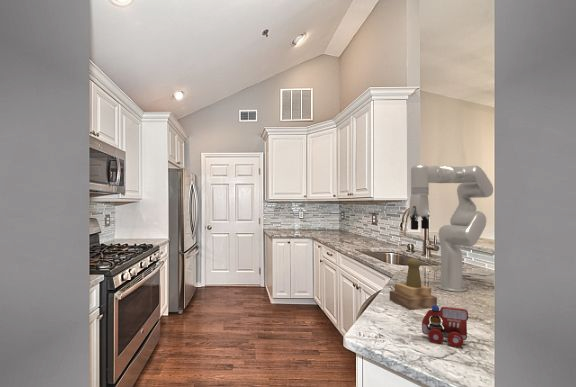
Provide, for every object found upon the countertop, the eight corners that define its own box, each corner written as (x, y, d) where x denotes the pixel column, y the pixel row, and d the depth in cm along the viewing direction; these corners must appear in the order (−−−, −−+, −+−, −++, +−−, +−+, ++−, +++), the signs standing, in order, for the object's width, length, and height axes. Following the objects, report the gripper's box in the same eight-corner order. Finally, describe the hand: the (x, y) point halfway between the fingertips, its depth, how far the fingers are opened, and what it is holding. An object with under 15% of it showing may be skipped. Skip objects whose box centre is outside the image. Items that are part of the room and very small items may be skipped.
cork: (420, 284, 131) (420, 258, 131) (422, 288, 125) (422, 260, 125) (405, 283, 133) (405, 257, 133) (406, 286, 127) (406, 259, 127)
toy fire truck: (422, 332, 99) (422, 299, 99) (467, 341, 93) (467, 305, 94) (421, 341, 93) (421, 305, 93) (469, 350, 87) (469, 312, 87)
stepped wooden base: (414, 298, 137) (414, 281, 137) (436, 307, 124) (436, 288, 125) (389, 300, 133) (389, 282, 133) (409, 310, 121) (409, 290, 121)
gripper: (420, 193, 152) (421, 228, 151) (402, 191, 141) (402, 229, 140) (436, 192, 146) (436, 229, 146) (418, 191, 135) (418, 230, 135)
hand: (419, 229), depth 143 cm, fingers open, 9 cm apart
